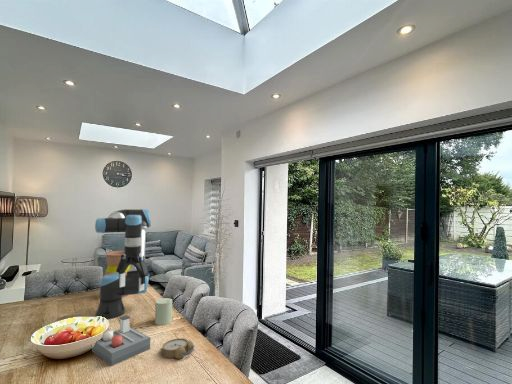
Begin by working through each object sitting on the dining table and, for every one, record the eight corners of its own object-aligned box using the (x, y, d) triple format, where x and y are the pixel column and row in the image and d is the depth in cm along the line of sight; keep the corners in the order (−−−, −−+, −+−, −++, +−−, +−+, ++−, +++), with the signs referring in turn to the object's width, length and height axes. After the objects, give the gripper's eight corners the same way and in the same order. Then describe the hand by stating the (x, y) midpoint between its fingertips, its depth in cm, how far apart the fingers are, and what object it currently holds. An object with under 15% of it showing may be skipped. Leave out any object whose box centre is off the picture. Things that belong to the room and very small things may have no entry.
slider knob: (119, 331, 129) (120, 317, 130) (126, 329, 132) (126, 315, 132) (122, 333, 127) (123, 318, 128) (129, 331, 130) (130, 316, 130)
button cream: (101, 341, 122) (101, 332, 122) (110, 338, 125) (110, 329, 126) (105, 344, 120) (105, 334, 120) (114, 340, 123) (114, 331, 123)
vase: (94, 298, 191) (96, 254, 192) (115, 289, 212) (117, 249, 214) (123, 300, 187) (124, 255, 189) (141, 290, 209) (143, 250, 210)
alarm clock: (174, 336, 130) (199, 338, 123) (175, 347, 129) (200, 349, 123) (156, 347, 120) (181, 349, 113) (157, 359, 119) (183, 362, 113)
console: (91, 350, 122) (91, 337, 122) (128, 336, 136) (129, 324, 136) (111, 365, 111) (112, 351, 111) (150, 348, 124) (150, 336, 124)
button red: (109, 347, 117) (109, 337, 118) (119, 343, 121) (119, 334, 121) (114, 350, 115) (114, 340, 115) (123, 346, 118) (123, 336, 118)
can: (166, 326, 148) (167, 303, 148) (151, 324, 150) (151, 302, 150) (175, 319, 157) (175, 297, 157) (160, 317, 159) (160, 296, 159)
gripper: (109, 244, 140) (108, 287, 139) (145, 248, 129) (143, 294, 128) (122, 243, 147) (120, 283, 146) (157, 246, 136) (155, 290, 135)
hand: (131, 288), depth 137 cm, fingers open, 13 cm apart
